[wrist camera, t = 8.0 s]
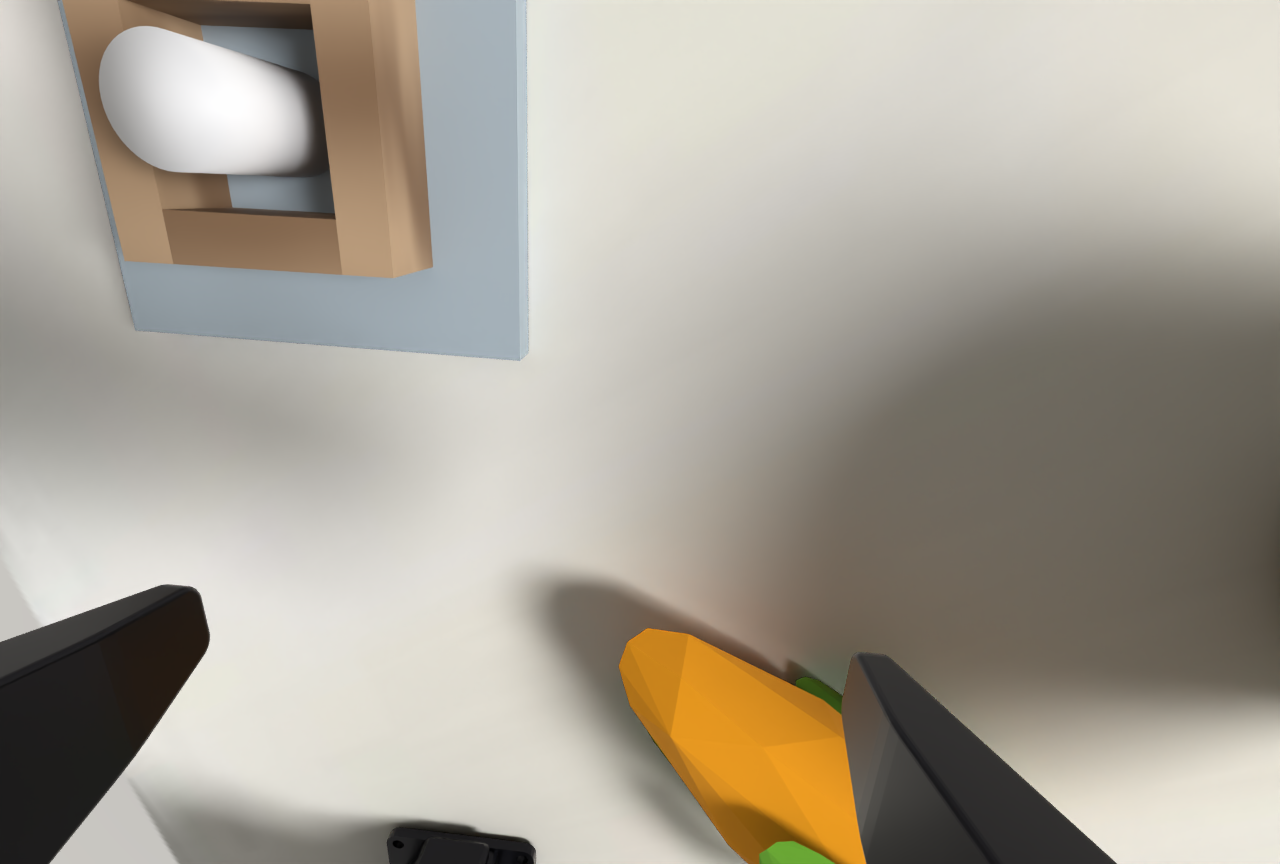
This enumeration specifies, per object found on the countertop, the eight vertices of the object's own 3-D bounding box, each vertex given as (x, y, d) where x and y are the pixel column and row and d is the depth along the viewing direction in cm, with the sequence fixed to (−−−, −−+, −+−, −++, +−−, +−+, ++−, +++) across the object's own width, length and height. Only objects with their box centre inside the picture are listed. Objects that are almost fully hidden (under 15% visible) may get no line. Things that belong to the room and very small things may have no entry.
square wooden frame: (432, 267, 18) (393, 278, 15) (197, 252, 18) (124, 261, 16) (413, -29, 15) (362, -69, 13) (140, -38, 16) (43, -79, 13)
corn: (971, 1175, 20) (503, 832, 16) (889, 924, 27) (552, 645, 23) (1183, 1079, 18) (713, 667, 14) (1035, 837, 26) (696, 519, 22)
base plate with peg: (528, 352, 19) (468, 409, 14) (161, 323, 20) (-22, 368, 15) (525, -132, 15) (437, -300, 10) (57, -148, 16) (-249, -312, 11)
